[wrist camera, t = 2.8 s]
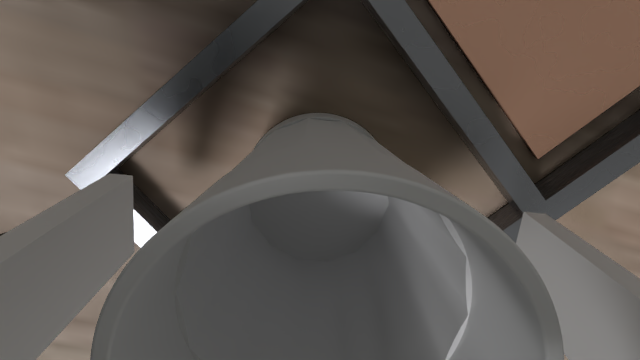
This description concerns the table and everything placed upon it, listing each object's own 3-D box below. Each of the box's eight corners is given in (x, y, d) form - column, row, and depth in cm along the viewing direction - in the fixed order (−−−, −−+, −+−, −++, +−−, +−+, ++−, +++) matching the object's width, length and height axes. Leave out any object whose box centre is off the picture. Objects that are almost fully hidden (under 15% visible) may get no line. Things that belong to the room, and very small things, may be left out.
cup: (430, 112, 18) (641, 222, 7) (385, 281, 20) (483, 585, 9) (239, 74, 17) (102, 123, 6) (214, 253, 20) (78, 538, 8)
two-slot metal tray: (298, 375, 22) (297, 398, 20) (84, 165, 18) (65, 174, 17) (822, 7, 17) (869, 3, 16) (663, -357, 14) (703, -404, 12)
